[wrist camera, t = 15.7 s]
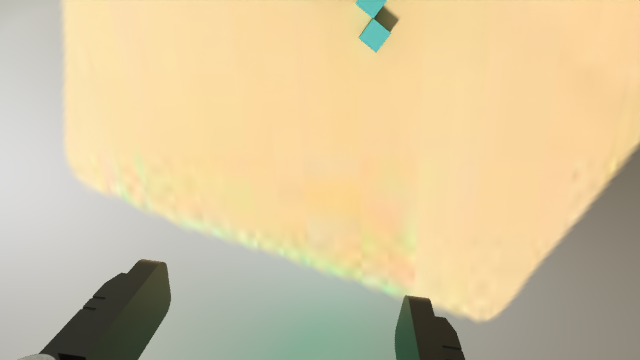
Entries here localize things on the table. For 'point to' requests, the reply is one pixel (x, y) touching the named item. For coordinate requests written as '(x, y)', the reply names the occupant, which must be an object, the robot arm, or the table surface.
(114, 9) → the table surface
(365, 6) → the alien figure
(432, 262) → the table surface
